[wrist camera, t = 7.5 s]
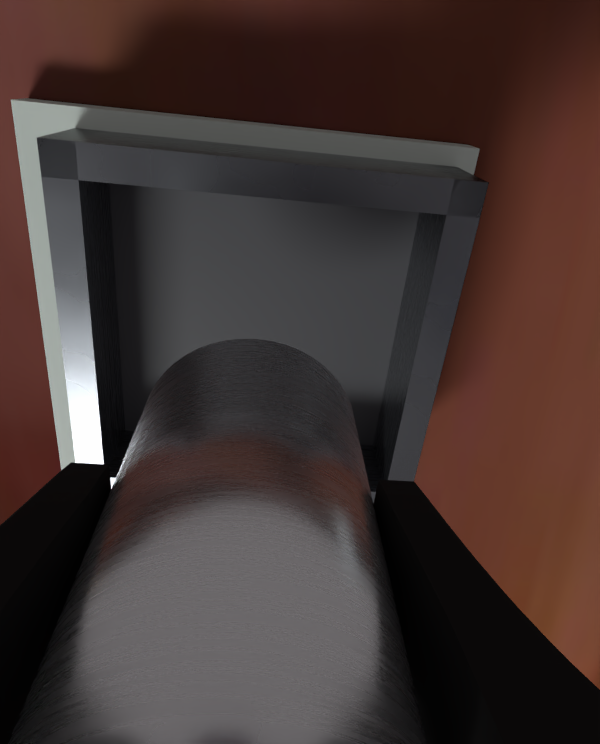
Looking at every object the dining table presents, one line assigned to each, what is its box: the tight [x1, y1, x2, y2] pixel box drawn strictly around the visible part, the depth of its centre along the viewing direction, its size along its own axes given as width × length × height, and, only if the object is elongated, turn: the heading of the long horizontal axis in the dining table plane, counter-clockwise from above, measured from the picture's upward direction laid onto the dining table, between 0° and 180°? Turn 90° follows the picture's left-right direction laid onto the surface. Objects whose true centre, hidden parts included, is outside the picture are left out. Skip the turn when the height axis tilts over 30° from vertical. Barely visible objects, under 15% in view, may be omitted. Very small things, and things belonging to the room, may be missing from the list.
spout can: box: [8, 339, 427, 744], centre depth 8 cm, size 4×6×8 cm
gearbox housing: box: [11, 98, 488, 503], centre depth 17 cm, size 12×14×4 cm
